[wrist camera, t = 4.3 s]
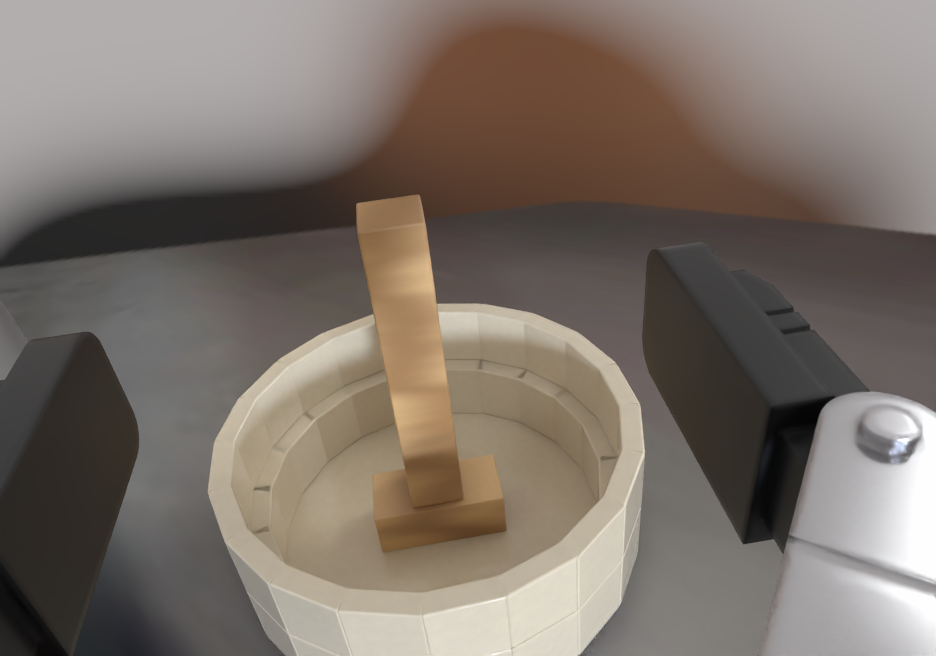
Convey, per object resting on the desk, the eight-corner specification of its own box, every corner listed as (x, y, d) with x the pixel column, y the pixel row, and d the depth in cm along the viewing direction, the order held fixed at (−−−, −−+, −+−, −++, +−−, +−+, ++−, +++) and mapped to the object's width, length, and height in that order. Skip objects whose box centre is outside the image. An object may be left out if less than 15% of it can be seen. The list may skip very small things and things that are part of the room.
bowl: (506, 363, 39) (498, 266, 35) (723, 577, 27) (743, 465, 24) (214, 487, 33) (171, 388, 30) (332, 819, 22) (285, 720, 19)
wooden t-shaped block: (496, 486, 31) (466, 183, 23) (507, 531, 29) (477, 218, 21) (380, 506, 31) (307, 206, 23) (382, 553, 29) (303, 243, 21)
